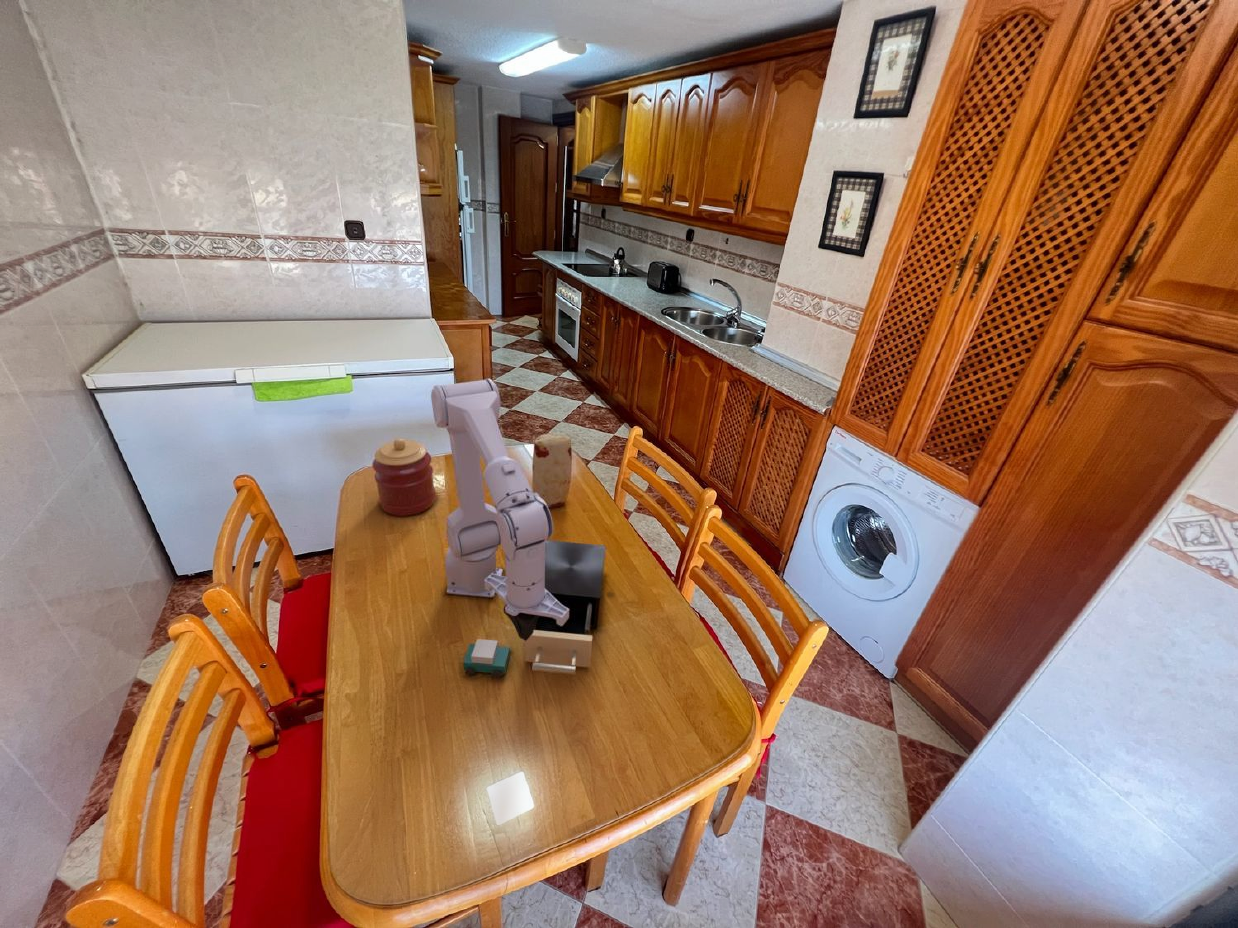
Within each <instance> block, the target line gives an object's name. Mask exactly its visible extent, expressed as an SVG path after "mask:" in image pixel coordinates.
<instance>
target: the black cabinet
mask: <svg viewBox="0 0 1238 928" xmlns="http://www.w3.org/2000/svg"><path fill="white" fill-rule="evenodd" d="M606 547H607V546H606V545H603V544H602V545H601V544H591V543H582V542H571V541H561V540H550V539H545V589H546V590H547V591H548V592H549V593H550V594H551V595H552V596H558V597H568V598H578V599H589V600H594V601H593V611H592V620H591V628H590V630H593V631H597V630H598V627H599V617H600V610H601V600H602V599H601V598H602V590H603V589H602V588H603V581H604V570H605V560H606Z"/></svg>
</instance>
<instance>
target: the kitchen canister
mask: <svg viewBox="0 0 1238 928" xmlns="http://www.w3.org/2000/svg"><path fill="white" fill-rule="evenodd" d="M431 462H432V456H431V454H430V453H429V452H427V447H426V446H425V445H423V444H422V443H420V442H418V441H414V440H411V439H403V438H396V439H395V440H392V441H389V442H387V443H385V444H384V445H382V446H380V447H379V448H378V449H377V450H375V452H374V459H373V460H372V464H371V465H372V469H373V470H374V471H375V474H374V480H375V482H376V487H377V492H378V502H379V505H380V506H381V508H382V510H383V511H384V512H385V513H387V514H389V515H392V516H398V517H399V516H400V517H402V516H403V517H406V516H413V515H417V514H420V513H422V512H423V513H424V511H426V510H428V509H429V508H431V507H432V506H433V504H434V503H435V501H436V494H437V493H436V492H437V491H436V488H435V484H434V483H435V482H434V475H433V473H434V469H433V467H432V465H431Z"/></svg>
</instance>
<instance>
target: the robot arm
mask: <svg viewBox="0 0 1238 928" xmlns="http://www.w3.org/2000/svg"><path fill="white" fill-rule="evenodd" d="M430 392H431V393H430V400H431V406H432V413H433V419H434V424H435V425H436V428H441V429H446V431H447V433H448V436H449V443H450V450H451V456H452V463H453V469H454V470H453V471H454V478H455V485H456V492H457V498H458V507H457V508H456V509H454V510H453V511H452V512H451V513H450V514H449V515H448V516H447V517H446V521H445V524H446V530H445V533H446V540H447V544H448V549H447V552H446V555H445V561H444V567H445V577H446V585H447V589H446V594H449V595H460V596H471V597H481V598H494V597H495V594H496V595H497V596H498V597H499V598H500V599H501V600H502V601H503V603H504V604H505V605H504V606H503V614H505V615H506V616H507V617H508V618H509V620H510V621H511V622H512V624H513V626H514V629H515V630H516V633H517V635H518V638H519V639H521V640H523V641H524V640H525V641H527V639H528V638H529V637H530V636H531V635H532V634H533V631H534V628H535V625H536V622H537V620H538V618H539V616H546V617H552V618H554V619H556V620H557V621H556V623H557V624H558V625H560V626H563V624H564V623H565V622H566V621H567V619H568V618H569V609H568V608H566V607H565V606H563V605H562V604H561V603H560V602H559V601H557V600H556V599H555V598H554V597H553V596H552V595H551V594H550V593H549V592H548V591H547V590H546V589H545V540H548V538H552V536H553V534H554V522H553V521H554V520H553V517H552V514H551V511H550V509H549V507H548V506H547V504H546V503H545V501H544V500H543V499H541V498H540V497H539V495H538V494H537V493H533V488H532V487H531V485H530V482H529V481H528V478H527V475H526V474H525V472H524V469H523V467H522V465H521V463H520V461H519V460H516V459H515V458H511V457H510V456H509V453H508V451H507V447H506V445H505V442H504V439H503V435H502V432H501V430H500V427H499V424H498V420H499V417H500V410H501V396H500V391H499V388H498V386H497V384H496V383H495V382H494V381H493V380H492V379H491V378H484V379H481V380H473V381H465V382H457V383H450V384H442V385H439V384H435V385H434V386H433V388H432V390H431V391H430ZM481 459H482V461H483V463H484V465H485V469H484V471H483V472H482V463H481ZM484 484H485V486H486V489H487V492H488V494H489V497H490V499H491V501H492V504H493V505H492V504H489V503H486V496H485V488H484ZM499 546H501V549H502V551H503V553H504V558H505V559H504V560H505V561H504V562H505V576H504V575H503V571H504V569H503V568H497V554H496V552H497V551H499Z"/></svg>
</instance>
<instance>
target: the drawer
mask: <svg viewBox="0 0 1238 928" xmlns="http://www.w3.org/2000/svg"><path fill="white" fill-rule="evenodd" d="M553 597H554V598H555V599H556V600H557V601H559V602H560V603H561V604H562V605H563V606H565V607H566V608H568V609H569V618H568V619H567V621H566V622H565V623H564V624H563V626H560V625H558V624H557V623H556V621H557V620H556V619H554V618H552V617H546V616H539V618H538V620H537V622H536V625H535V628H534V631H533V634H532V635H531V636H530V637H529V638H528V639H527V641H525V640H523V643H524V644H523V647H524V650H523V651H524V652H523V653H524V654H523V657H524V662H529V663H532V666H531V667H532V668H531V670H532V672H541V673H553V674H561V675H573V676H575V675H576V671H577V667H579V668H590V667H591V659H592V648H593V635H591V629H590V628H591V620H592V611H593V601H594V600H589V599H578V598H568V597H558V596H553Z"/></svg>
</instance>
